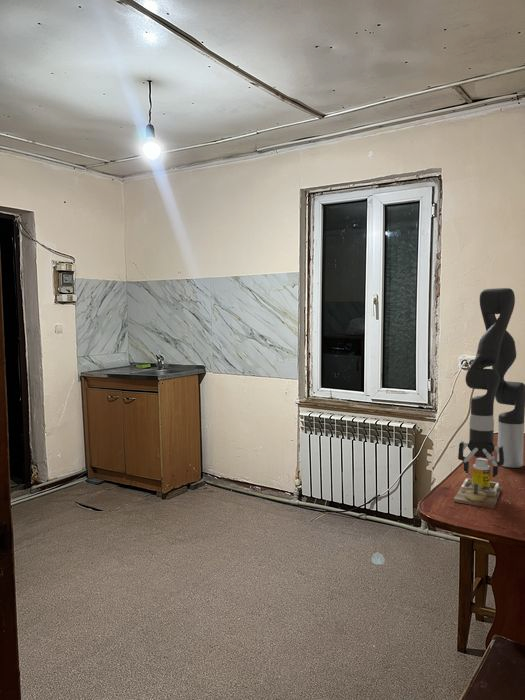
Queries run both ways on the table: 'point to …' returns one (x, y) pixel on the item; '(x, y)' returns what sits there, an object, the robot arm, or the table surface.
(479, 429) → the robot arm
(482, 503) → the board
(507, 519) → the table surface
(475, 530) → the table surface
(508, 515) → the table surface
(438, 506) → the table surface
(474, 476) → the supplement bottle
